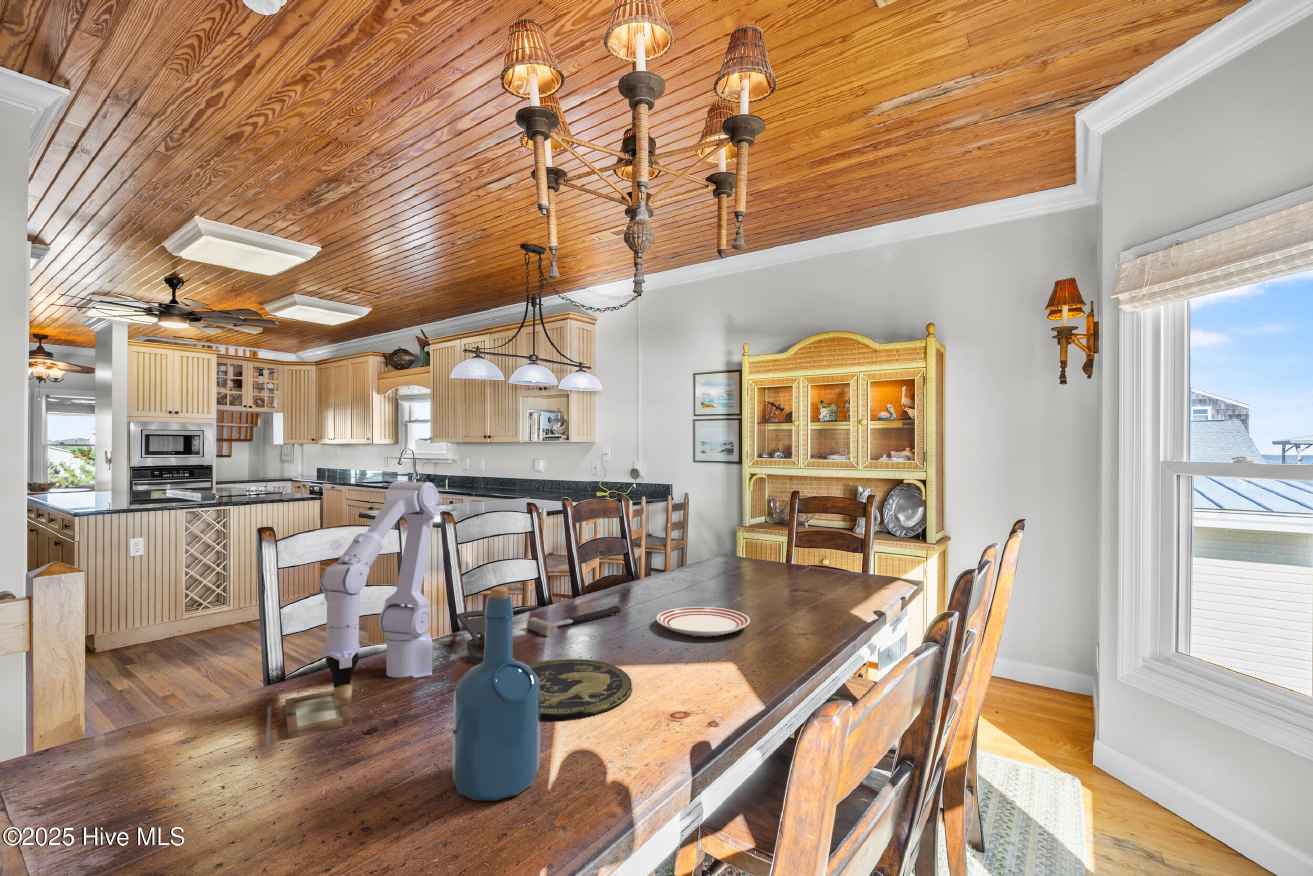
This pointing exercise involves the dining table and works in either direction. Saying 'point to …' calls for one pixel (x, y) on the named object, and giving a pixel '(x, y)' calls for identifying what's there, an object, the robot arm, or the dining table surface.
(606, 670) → the decorative plate
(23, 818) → the dining table surface
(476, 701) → the wine bottle
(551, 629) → the rubber mallet
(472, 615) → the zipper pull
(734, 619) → the dinner plate
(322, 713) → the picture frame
